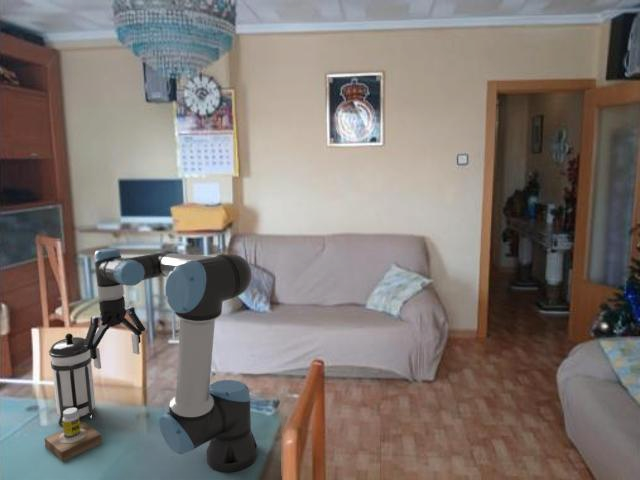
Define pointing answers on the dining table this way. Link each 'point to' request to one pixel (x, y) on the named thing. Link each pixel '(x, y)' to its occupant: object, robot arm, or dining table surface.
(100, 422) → the dining table surface
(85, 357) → the coffee press
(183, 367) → the robot arm
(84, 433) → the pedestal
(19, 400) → the dining table surface
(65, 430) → the supplement bottle
